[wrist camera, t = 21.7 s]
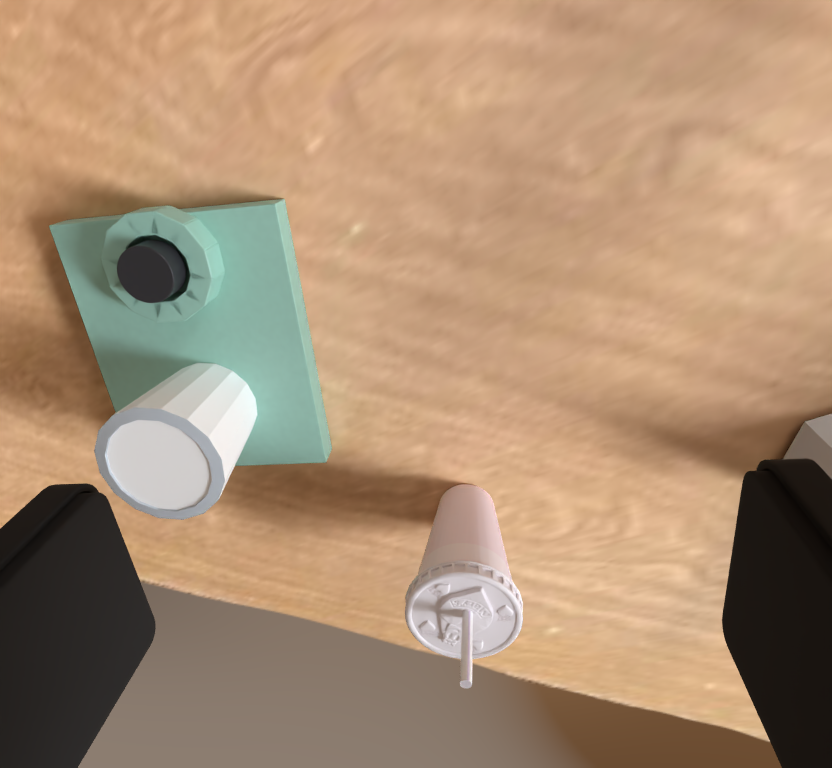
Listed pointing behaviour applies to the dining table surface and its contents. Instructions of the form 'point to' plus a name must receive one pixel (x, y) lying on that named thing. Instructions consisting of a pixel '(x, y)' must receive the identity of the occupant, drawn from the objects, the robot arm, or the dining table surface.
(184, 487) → the white tapered cup
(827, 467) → the flask
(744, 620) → the robot arm
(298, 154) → the dining table surface
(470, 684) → the smoothie
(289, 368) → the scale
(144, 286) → the button
